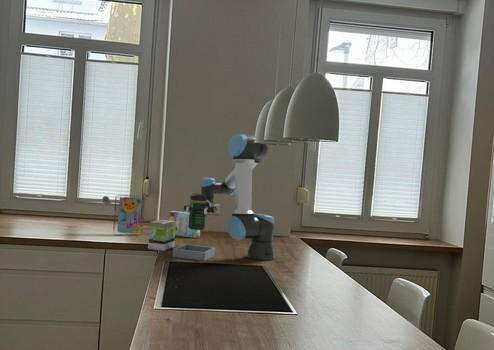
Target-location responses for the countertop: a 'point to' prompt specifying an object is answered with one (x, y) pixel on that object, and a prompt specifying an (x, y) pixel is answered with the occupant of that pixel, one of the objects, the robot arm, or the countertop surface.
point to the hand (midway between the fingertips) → (196, 210)
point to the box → (128, 214)
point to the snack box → (183, 224)
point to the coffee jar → (197, 211)
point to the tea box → (162, 234)
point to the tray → (194, 252)
